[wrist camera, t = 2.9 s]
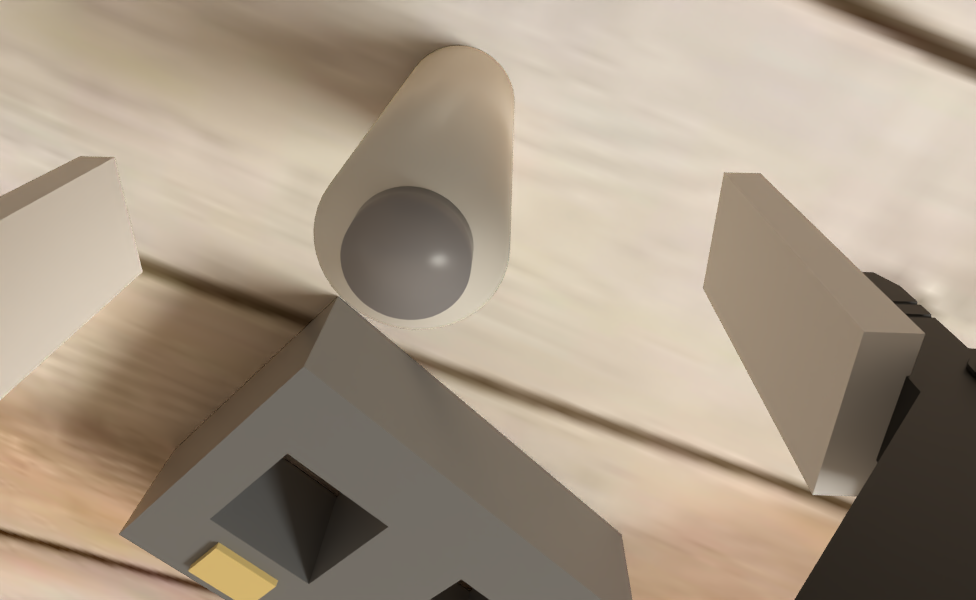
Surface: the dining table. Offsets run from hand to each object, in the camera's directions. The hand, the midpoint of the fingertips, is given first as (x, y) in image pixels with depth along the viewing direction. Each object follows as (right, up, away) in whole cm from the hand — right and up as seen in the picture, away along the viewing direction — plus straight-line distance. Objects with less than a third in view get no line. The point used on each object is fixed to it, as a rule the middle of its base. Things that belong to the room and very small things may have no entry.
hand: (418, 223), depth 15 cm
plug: (+1, +5, +9) cm, 10 cm away
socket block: (-3, -11, +18) cm, 21 cm away
